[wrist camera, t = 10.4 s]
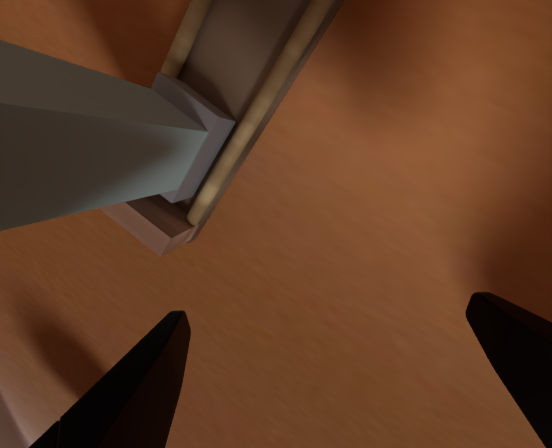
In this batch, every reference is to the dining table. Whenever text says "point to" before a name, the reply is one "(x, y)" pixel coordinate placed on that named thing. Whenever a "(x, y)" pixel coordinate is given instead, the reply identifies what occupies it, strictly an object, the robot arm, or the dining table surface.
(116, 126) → the carriage
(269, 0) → the rail track
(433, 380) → the dining table surface
